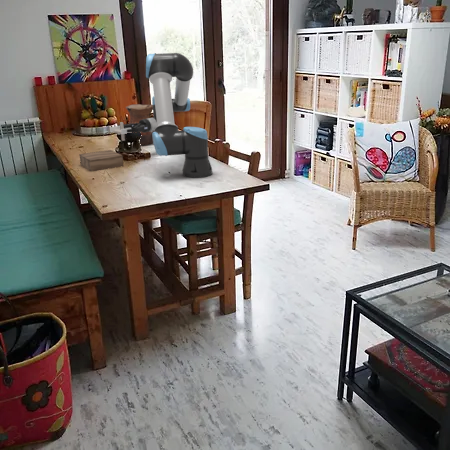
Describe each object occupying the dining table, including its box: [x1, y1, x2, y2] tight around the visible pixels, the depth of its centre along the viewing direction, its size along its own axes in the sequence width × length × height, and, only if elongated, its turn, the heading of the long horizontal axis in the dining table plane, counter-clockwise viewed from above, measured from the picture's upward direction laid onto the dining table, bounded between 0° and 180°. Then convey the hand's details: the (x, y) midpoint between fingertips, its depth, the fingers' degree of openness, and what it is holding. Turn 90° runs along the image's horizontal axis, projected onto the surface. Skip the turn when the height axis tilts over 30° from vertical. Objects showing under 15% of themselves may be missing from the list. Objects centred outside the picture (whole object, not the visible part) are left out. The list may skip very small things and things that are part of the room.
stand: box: [79, 149, 124, 172], centre depth 255 cm, size 18×18×6 cm
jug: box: [125, 103, 155, 147], centre depth 306 cm, size 22×21×25 cm
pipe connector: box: [112, 121, 126, 142], centre depth 258 cm, size 10×10×10 cm
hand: (115, 130), depth 255 cm, fingers closed on pipe connector, 10 cm apart
